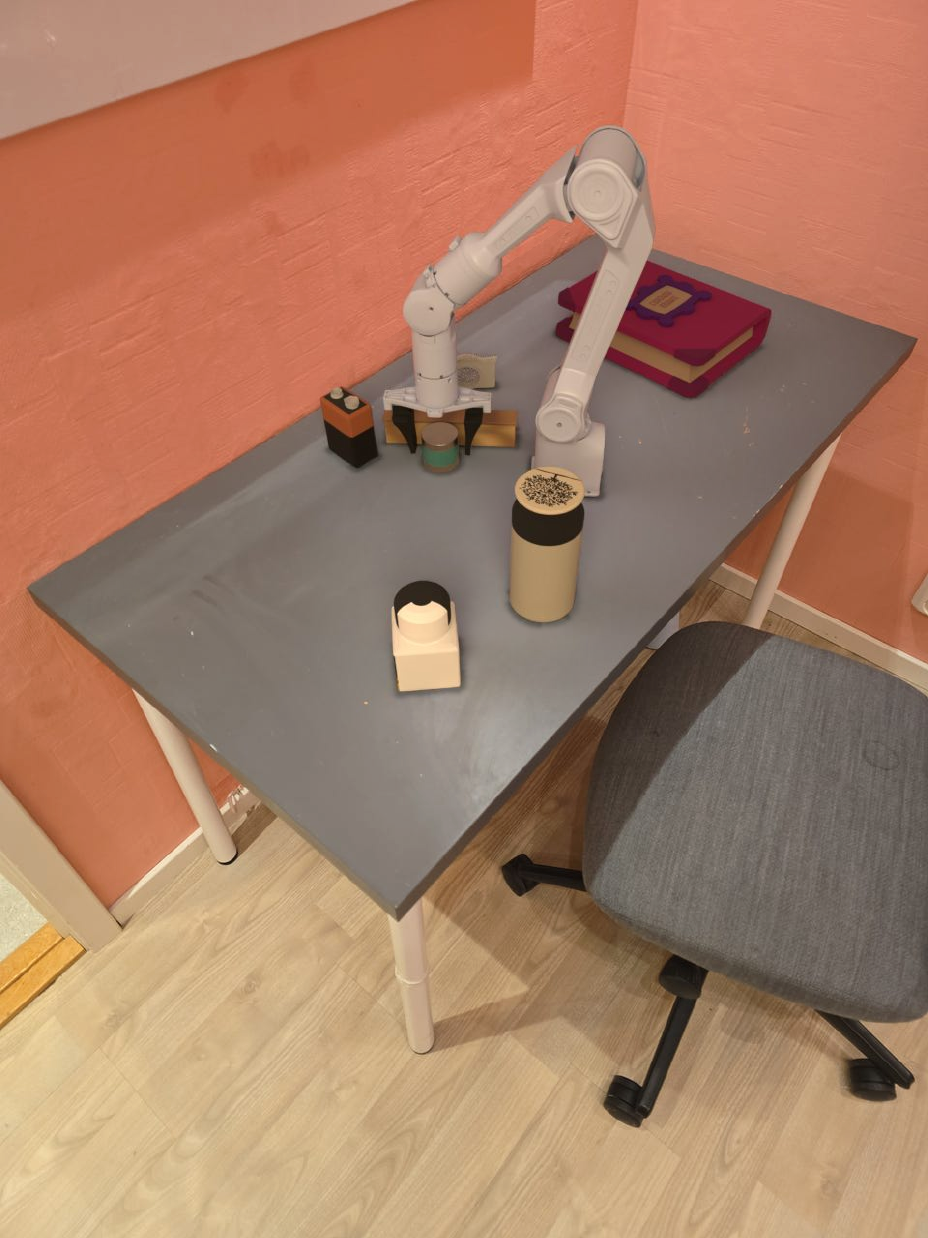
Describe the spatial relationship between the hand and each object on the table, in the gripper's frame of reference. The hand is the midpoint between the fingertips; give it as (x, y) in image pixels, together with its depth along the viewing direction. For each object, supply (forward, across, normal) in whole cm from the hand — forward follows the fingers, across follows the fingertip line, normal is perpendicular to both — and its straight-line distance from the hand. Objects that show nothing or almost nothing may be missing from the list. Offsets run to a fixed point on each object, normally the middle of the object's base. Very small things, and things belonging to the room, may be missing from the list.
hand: (440, 450), depth 120 cm
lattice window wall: (+2, +1, +18) cm, 18 cm away
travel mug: (+2, +15, -26) cm, 30 cm away
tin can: (+2, 0, 0) cm, 2 cm away
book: (+2, +33, +33) cm, 47 cm away
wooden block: (+2, +1, +5) cm, 6 cm away
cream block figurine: (+2, +2, -37) cm, 37 cm away
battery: (+2, -13, +1) cm, 13 cm away
